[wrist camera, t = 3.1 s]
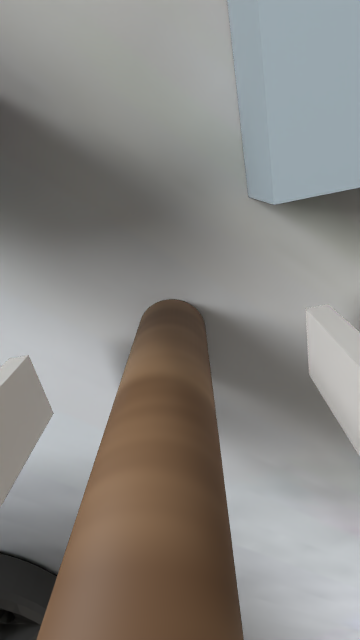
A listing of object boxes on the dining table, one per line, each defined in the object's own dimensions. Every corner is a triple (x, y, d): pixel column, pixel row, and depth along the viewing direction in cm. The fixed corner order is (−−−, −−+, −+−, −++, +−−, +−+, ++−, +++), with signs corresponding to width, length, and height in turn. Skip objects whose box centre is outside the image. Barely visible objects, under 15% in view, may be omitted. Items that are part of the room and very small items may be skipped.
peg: (210, 353, 15) (270, 808, 4) (147, 363, 16) (53, 814, 5) (199, 293, 14) (243, 706, 3) (132, 305, 14) (-49, 723, 3)
